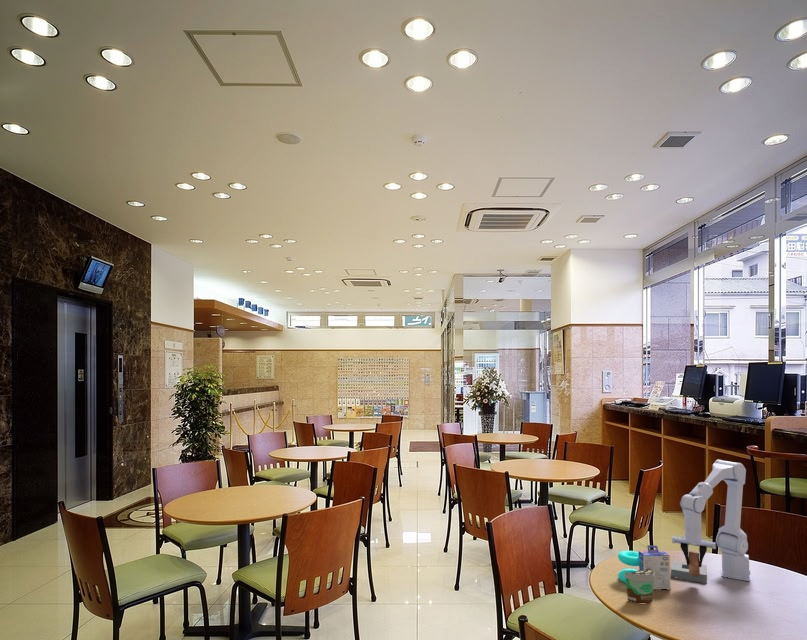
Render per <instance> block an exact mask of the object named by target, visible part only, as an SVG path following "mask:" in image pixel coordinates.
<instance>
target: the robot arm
mask: <svg viewBox="0 0 807 640" xmlns="http://www.w3.org/2000/svg"><path fill="white" fill-rule="evenodd" d="M746 473H747V469H746V468H745V466H744V464H743V463H741V462H735V461H734V462H733V461H728V460H722V459H716V460H715V461H714V463H713V464H712V470H711V472H710V473H709V474H708V476H707V477H706V479H705V480H704V481H701V482H698V483H697V484H696V486H695V487H693V489H692V490H691V491H690V492H689V493H687V494H684V495H682V497H681V499H680V501H679V506H680V507H681V509H682V514H683V516H684V517H683V520H684V521H683V522H684V537H683V536H682V537H681V536H671V543H672V544H679V545H680V549H681V551H682V553H683V555H684V557H685V562H687V565H689V546H694V547H699V567H701V566H702V565H703V560H704V558H705V555H706V554H707V551H708V549H713V550H716V549H717V547H718V548H719V551H721V569H720V576H721V577H722V576H723V577H722V578H727V577H728V579H734V580H741V581H745V580H746V581H747V582H751V577H750V576H751V569H750V557H749V556H750V555H749V554H746V553H747V552H748V550H749V543H748V535H747V533H746V532H744V530H743V529H742V528H741V520H742V519H741V517H742V516H741V515H742V505H743V493H744V492H743V490H744V489H743V488H744V485H745V484H746V477H747V476H746ZM721 481H724V482H725V484H726V485H727V488H726V489H727V491H726V504H725V514H724V515H725V518H724V525H723V526H720V527H719V528H718V529H717V530H718V532H717V535H716V538H715V542H714V541H709V540H705V539H703V536H702V535H703V533H702V531H703V529H702V512H703V511H704V510H705V506H706V504H707V501H708V499H710V497H711V496H712V495H713V493H714V490H713V489H714V488H715V487H716V486H717V485H718V484H719V483H720V482H721Z"/></svg>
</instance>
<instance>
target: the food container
mask: <svg viewBox="0 0 807 640" xmlns="http://www.w3.org/2000/svg"><path fill="white" fill-rule="evenodd" d="M636 570H637V571H635V572H632V573H629V572H626V571H625V576H624V578H626V583H625V586H626V594H627V595H626V596H627V601H628V600H629V601H628V602H630V601H632V602H631V603H633V602H636V603H635V604H637V603H650V602H653V598H654V597H653V596H654V594H653V593H654V589H653V582H654V580H655V579H656V576H655V572H654V570H653V569H652V568H650V567H647V569H646V570H638V569H636ZM650 604H651V603H650Z"/></svg>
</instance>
